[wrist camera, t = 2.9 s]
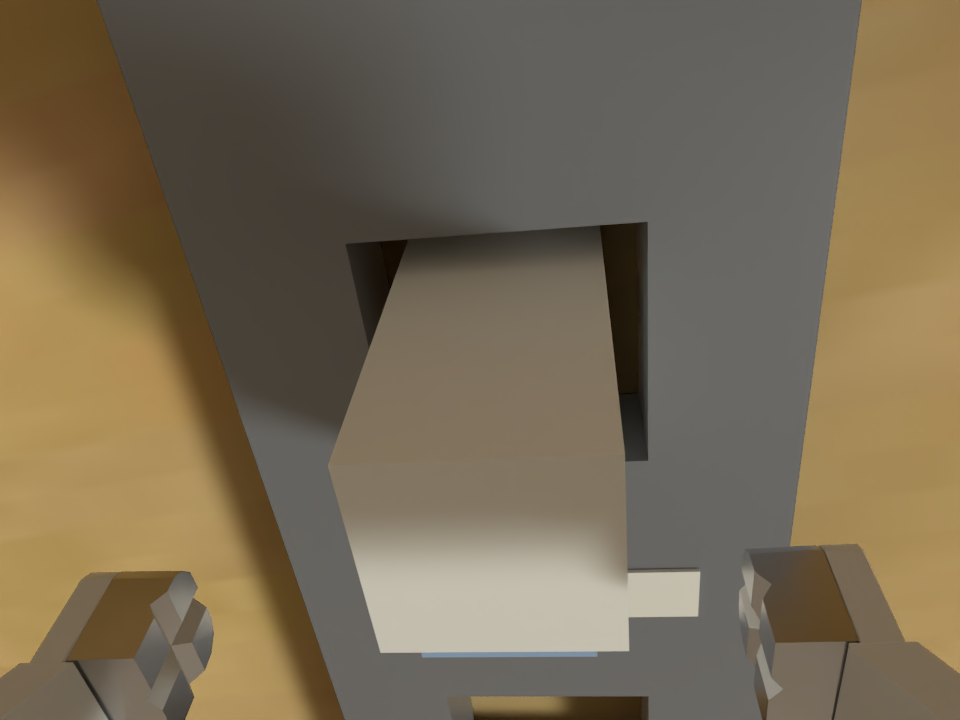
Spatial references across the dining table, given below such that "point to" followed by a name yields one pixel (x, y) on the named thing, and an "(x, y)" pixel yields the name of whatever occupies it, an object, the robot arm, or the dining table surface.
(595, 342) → the plug
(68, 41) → the dining table surface
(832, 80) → the panel
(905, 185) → the dining table surface
